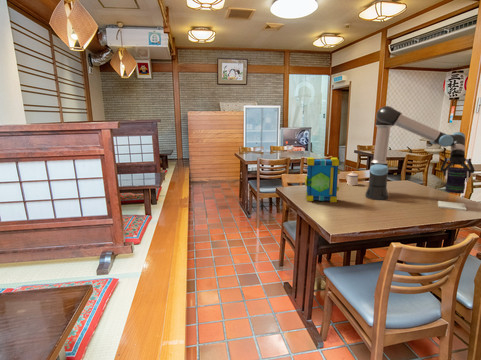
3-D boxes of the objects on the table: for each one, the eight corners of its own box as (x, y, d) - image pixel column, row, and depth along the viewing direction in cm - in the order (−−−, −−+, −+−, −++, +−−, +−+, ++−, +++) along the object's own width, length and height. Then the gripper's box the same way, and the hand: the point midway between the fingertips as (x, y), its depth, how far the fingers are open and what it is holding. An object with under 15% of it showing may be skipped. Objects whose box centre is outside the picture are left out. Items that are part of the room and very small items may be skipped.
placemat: (438, 207, 178) (438, 206, 178) (437, 202, 190) (437, 200, 190) (466, 211, 171) (466, 209, 171) (463, 205, 182) (464, 203, 182)
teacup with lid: (360, 185, 242) (361, 172, 240) (352, 186, 239) (353, 173, 236) (349, 182, 253) (350, 170, 251) (341, 183, 250) (342, 170, 247)
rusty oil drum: (468, 193, 173) (471, 169, 170) (452, 193, 174) (455, 170, 171) (456, 189, 183) (459, 167, 180) (441, 189, 183) (444, 167, 180)
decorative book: (304, 197, 207) (305, 156, 201) (337, 198, 202) (339, 157, 196) (304, 202, 193) (306, 159, 187) (339, 204, 189) (342, 159, 183)
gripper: (478, 157, 181) (478, 185, 171) (436, 155, 193) (434, 181, 183) (481, 149, 175) (481, 178, 165) (437, 148, 187) (435, 175, 177)
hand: (456, 180), depth 174 cm, fingers closed on rusty oil drum, 10 cm apart
